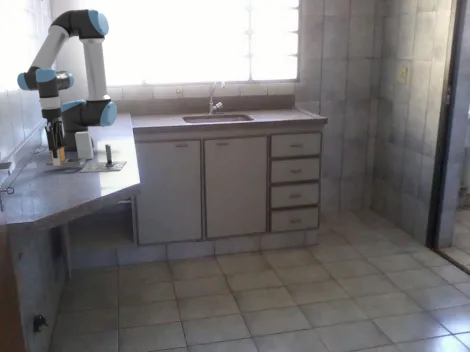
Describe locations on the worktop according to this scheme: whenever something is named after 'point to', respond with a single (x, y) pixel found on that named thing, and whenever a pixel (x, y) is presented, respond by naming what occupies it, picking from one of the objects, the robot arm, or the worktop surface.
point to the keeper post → (104, 164)
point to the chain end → (68, 161)
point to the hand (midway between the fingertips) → (59, 163)
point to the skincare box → (84, 145)
